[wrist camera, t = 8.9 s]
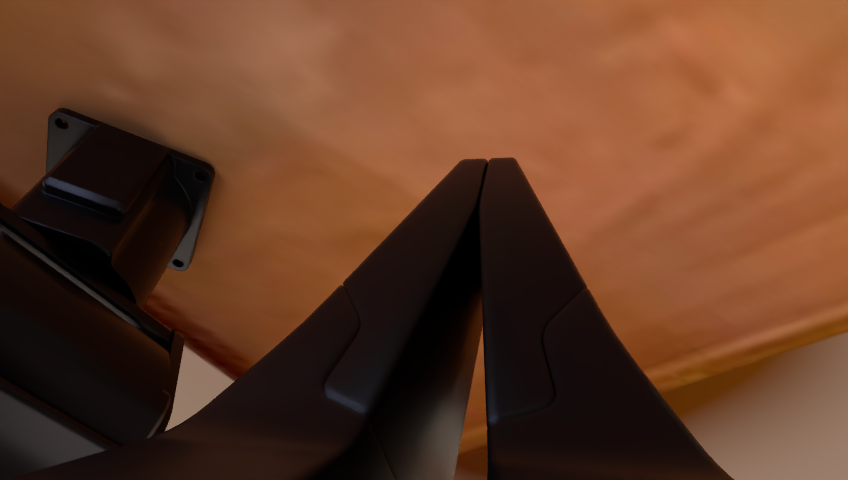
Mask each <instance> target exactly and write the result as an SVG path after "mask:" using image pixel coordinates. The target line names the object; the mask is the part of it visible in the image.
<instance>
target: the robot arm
mask: <svg viewBox="0 0 848 480" xmlns="http://www.w3.org/2000/svg"><path fill="white" fill-rule="evenodd" d="M61 119H63V120H65V121H66V122H67V123H68V125H67V124H65V123H63V121H62V120H61ZM198 171H199V172H202V173H204V174H205V175H206V176H201V175H200V174H199V173H198ZM214 178H215V171H214V168H213V167H212V166H211V165H210V164H208V163H206V162H204V161H201V160H198V159H196V158H193V157H191V156H188V155H185V154H183V153H180V152H178V151H175V150H172V149H170V148H167V147H165V146H162V145H160V144H157V143H154V142H152V141H149V140H147V139H144V138H141V137H139V136H136V135H134V134H131V133H128V132H126V131H123V130H121V129H118V128H115V127H113V126H110V125H108V124H105V123H103V122H100V121H97V120H95V119H92V118H90V117H87V116H84V115H82V114H79V113H77V112H74V111H71V110H69V109H65V108H58V109H57V110H55V111H54V112H53V113H52V114H51V115H50V116H49V119H48V140H47V164H46V175H45V176H44V177H43V178H42V179H41V180H40V181H39V182H38V183H37V184H36V185H35V186H34V187H33V188H32V189H31V190H30V191H29V192H28V193H27V194H26V195H25V196H24V197H23V198H22V199H21V200H20V201H19V202H18V203H17V204H16V205H15V206H14V207H13V208H12V209H11V210H10V209H9V208H7V207H6V206H5V205H3V204H2V203H1V202H0V480H453V477H454V472H455V467H456V462H457V457H458V451H459V446H460V441H461V436H462V430H463V425H464V420H465V415H466V409H467V404H468V399H469V394H470V389H471V383H472V378H473V373H474V368H475V362H476V357H477V352H478V347H479V341H480V336H481V331H482V326H483V342H484V367H485V392H486V417H487V428H488V429H487V444H488V475H487V480H734V479H733V478H732V477H730V476H729V475H728V474H727V473H726V472H725V471H724V470H723V469H722V468H721V467H720V466H719V465H718V464H717V463H716V462H715V461H714V460H713V459H712V458H711V457H710V456H709V455H708V454H707V452H706V451H705V450H704V449H703V447H702V446H701V445H700V444H699V443H698V441H697V440H696V439H695V438H694V436H693V435H692V434H691V433H690V431H689V430H688V429H687V427H686V426H685V425H684V424H683V422H682V421H681V420H680V418H679V417H678V416H677V415H676V413H675V412H674V411H673V409H672V408H671V407H670V406H669V405H668V403H667V402H666V400H665V399H664V398H663V397H662V395H661V394H660V393H659V391H658V390H657V389H656V388H655V386H654V385H653V384H652V382H651V381H650V380H649V379H648V377H647V376H646V375H645V373H644V372H643V371H642V370H641V368H640V367H639V366H638V364H637V363H636V362H635V360H634V359H633V358H632V356H631V355H630V353H629V352H628V351H627V349H626V348H625V347H624V345H623V344H622V342H621V341H620V340H619V338H618V337H617V336H616V334H615V332H614V331H613V329H612V328H611V326H610V324H609V323H608V321H607V320H606V318H605V316H604V315H603V313H602V311H601V310H600V308H599V306H598V305H597V303H596V301H595V299H594V298H593V296H592V294H591V292H590V291H589V290H588V289H587V286H586V284H585V282H584V280H583V278H582V277H581V275H580V273H579V271H578V269H577V268H576V266H575V264H574V262H573V261H572V259H571V257H570V255H569V253H568V252H567V250H566V248H565V246H564V244H563V243H562V241H561V239H560V237H559V236H558V234H557V232H556V230H555V228H554V227H553V225H552V223H551V221H550V219H549V218H548V216H547V214H546V212H545V211H544V209H543V207H542V205H541V203H540V202H539V200H538V198H537V196H536V194H535V193H534V191H533V189H532V187H531V185H530V184H529V182H528V180H527V178H526V177H525V175H524V173H523V171H522V169H521V168H520V166H519V164H518V162H517V161H516V159H514V158H492V159H490V160H489V161H487V160H486V159H464V160H462V161H460V162H459V163H458V164H457V165H456V166H455V167H454V168H453V169H452V170H451V171H450V172H449V173H448V174H447V175H446V177H445V178H444V179H443V180H442V181H441V182H440V183H439V184H438V185H437V186H436V187H435V188H434V189H433V190H432V191H431V192H430V193H429V194H428V195H427V196H426V197H425V198H424V199H423V200H422V201H421V202H420V203H419V204H418V205H417V207H416V208H415V209H414V210H413V211H412V212H411V213H410V214H409V215H408V216H407V217H406V218H405V219H404V220H403V221H402V222H401V223H400V224H399V225H398V226H397V227H396V228H395V229H394V230H393V231H392V232H391V233H390V234H389V235H388V237H387V238H386V239H385V240H384V241H383V242H382V243H381V244H380V245H379V246H378V247H377V248H376V249H375V250H374V251H373V252H372V253H371V254H370V255H369V256H368V257H367V258H366V259H365V260H364V261H363V262H362V263H361V264H360V265H359V267H358V268H357V269H356V270H355V271H354V272H353V273H352V274H351V275H350V276H349V277H348V278H347V279H346V280H345V281H344V282H343V286H342V285H341V286H339V287H338V288H337V289H336V290H335V291H334V292H333V293H332V294H331V295H330V296H329V297H328V298H327V299H326V300H325V301H324V302H323V303H322V304H321V305H320V306H319V307H318V308H317V309H316V310H315V311H314V312H313V313H312V314H311V315H310V316H309V317H308V318H307V319H306V320H305V321H304V322H303V323H302V324H301V325H300V326H299V327H297V328H296V329H295V330H294V331H293V332H292V333H291V334H290V335H288V336H287V337H286V338H285V339H284V340H283V341H282V342H280V343H279V344H278V345H277V346H276V347H275V348H274V349H273V350H271V351H270V352H269V353H268V354H267V355H265V356H264V357H263V358H262V359H261V360H260V361H258V362H257V363H256V364H255V365H254V366H252V367H251V368H250V369H249V370H248V371H247V372H245V373H244V374H243V375H242V376H241V377H239V378H238V379H237V380H236V381H235V382H234V383H232V384H231V385H230V386H229V387H228V388H226V389H225V390H224V391H223V392H222V393H221V394H219V395H218V396H217V397H216V398H215V399H213V400H212V401H211V402H210V403H209V404H208V405H206V406H205V407H204V408H202V409H201V410H200V411H199V412H197V413H196V414H195V415H193V416H192V417H190V418H189V419H187V420H186V421H184V422H183V423H181V424H179V425H177V426H175V427H173V428H172V429H170V430H168V431H165V429H166V427H167V425H168V422H169V420H170V416H171V413H172V409H173V403H174V397H175V391H176V386H177V380H178V374H179V369H180V363H181V358H182V352H183V346H184V341H185V338H184V337H183V336H182V335H180V334H179V333H178V332H176V331H175V330H169V329H168V328H167V327H165V326H164V325H163V324H161V323H160V322H159V321H157V320H156V319H155V318H153V317H152V316H151V315H149V314H148V313H147V312H145V311H144V310H143V307H144V305H145V304H146V302H147V300H148V299H149V297H150V295H151V293H152V292H153V290H154V288H155V286H156V285H157V283H158V281H159V280H160V278H161V276H162V274H163V273H164V271H165V269H166V267H169V268H171V269H174V270H178V271H185V270H187V269H188V267H189V265H190V263H191V261H192V258H193V254H194V251H195V247H196V243H197V240H198V236H199V233H200V229H201V225H202V222H203V218H204V214H205V211H206V207H207V204H208V200H209V196H210V193H211V189H212V185H213V182H214ZM177 259H178V260H177ZM179 260H181V261H179ZM164 431H165V432H164Z"/></svg>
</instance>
